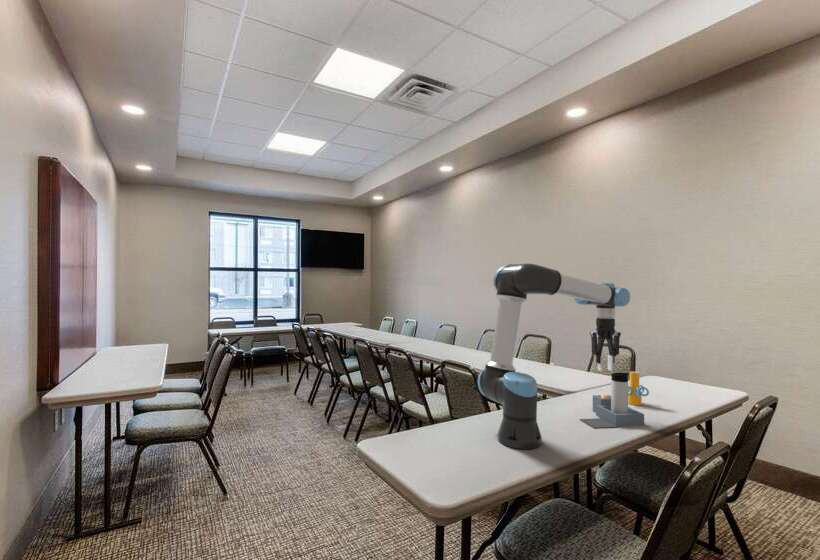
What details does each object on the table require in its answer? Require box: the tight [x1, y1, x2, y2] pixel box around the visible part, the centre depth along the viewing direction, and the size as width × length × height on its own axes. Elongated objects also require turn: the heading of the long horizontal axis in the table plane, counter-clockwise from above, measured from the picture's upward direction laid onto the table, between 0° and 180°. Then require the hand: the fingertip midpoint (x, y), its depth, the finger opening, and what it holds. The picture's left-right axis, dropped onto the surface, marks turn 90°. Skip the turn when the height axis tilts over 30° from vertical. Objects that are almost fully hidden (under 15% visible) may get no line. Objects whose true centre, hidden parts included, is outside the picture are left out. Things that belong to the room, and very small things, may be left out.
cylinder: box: [628, 371, 650, 406], centre depth 190 cm, size 12×10×15 cm
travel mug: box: [610, 372, 630, 414], centre depth 166 cm, size 6×7×20 cm
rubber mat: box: [579, 417, 618, 429], centre depth 162 cm, size 10×10×1 cm
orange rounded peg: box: [600, 394, 609, 399], centre depth 176 cm, size 3×3×7 cm
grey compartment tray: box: [592, 394, 645, 427], centre depth 169 cm, size 12×19×7 cm, turn 8°
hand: (605, 370), depth 176 cm, fingers open, 4 cm apart
